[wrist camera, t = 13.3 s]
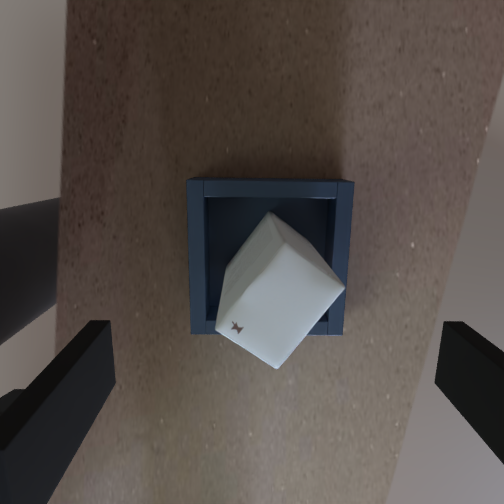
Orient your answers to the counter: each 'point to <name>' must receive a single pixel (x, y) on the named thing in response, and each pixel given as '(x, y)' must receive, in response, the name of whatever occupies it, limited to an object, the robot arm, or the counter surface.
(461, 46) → the counter surface
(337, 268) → the holder
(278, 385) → the counter surface
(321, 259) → the cosmetic box
